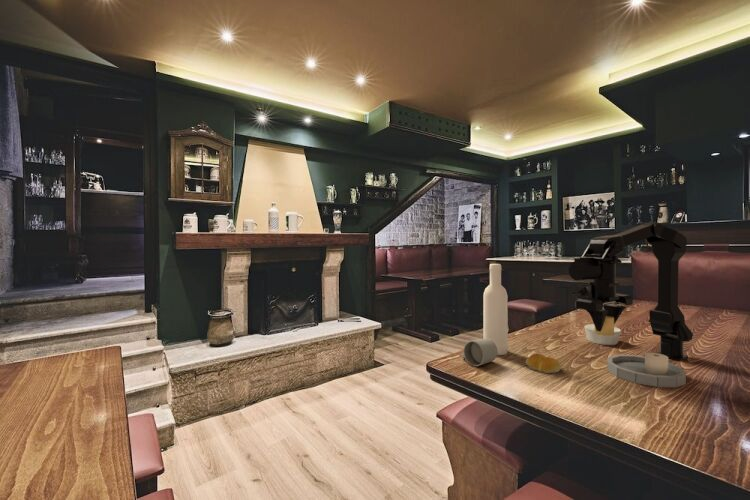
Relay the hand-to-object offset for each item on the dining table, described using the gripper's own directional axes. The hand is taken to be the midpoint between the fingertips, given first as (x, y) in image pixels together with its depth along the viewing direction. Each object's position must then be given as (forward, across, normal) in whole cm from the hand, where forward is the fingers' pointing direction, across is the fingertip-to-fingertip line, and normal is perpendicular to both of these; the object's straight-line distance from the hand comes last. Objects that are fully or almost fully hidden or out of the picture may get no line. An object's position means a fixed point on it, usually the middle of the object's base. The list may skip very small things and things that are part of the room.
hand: (604, 329), depth 105 cm
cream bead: (+10, -2, +12) cm, 16 cm away
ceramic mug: (+10, +32, -19) cm, 39 cm away
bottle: (+11, +20, -24) cm, 33 cm away
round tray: (+11, -2, +10) cm, 15 cm away
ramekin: (+11, -23, -15) cm, 30 cm away
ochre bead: (+1, 0, 0) cm, 1 cm away
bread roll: (+11, +18, -7) cm, 22 cm away
